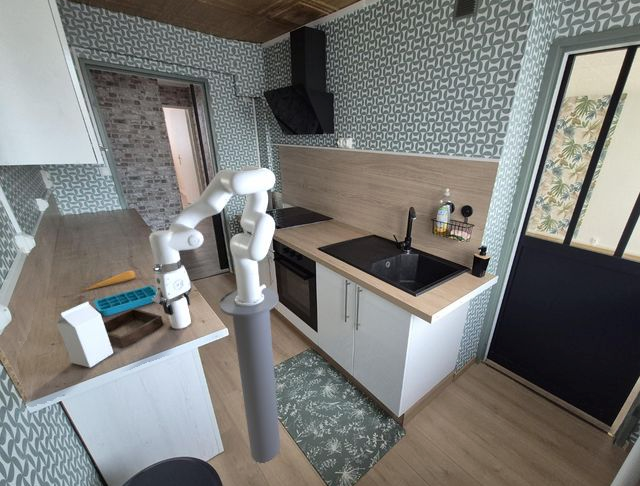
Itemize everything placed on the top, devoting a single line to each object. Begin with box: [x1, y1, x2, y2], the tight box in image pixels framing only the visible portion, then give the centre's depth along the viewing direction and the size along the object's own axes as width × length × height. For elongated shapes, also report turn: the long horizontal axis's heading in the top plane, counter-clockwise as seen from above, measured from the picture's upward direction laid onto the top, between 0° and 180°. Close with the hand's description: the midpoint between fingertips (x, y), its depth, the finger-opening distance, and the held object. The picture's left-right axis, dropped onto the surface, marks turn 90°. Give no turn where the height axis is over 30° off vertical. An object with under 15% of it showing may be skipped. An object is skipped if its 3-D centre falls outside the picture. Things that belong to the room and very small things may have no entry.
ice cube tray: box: [93, 285, 157, 317], centre depth 123 cm, size 12×20×3 cm, turn 139°
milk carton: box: [55, 301, 114, 368], centre depth 90 cm, size 7×7×19 cm
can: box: [168, 294, 192, 330], centre depth 110 cm, size 6×6×12 cm
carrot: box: [82, 270, 137, 292], centre depth 137 cm, size 20×4×4 cm, turn 143°
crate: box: [103, 307, 164, 349], centre depth 106 cm, size 15×15×4 cm
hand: (178, 308), depth 109 cm, fingers closed on can, 6 cm apart
